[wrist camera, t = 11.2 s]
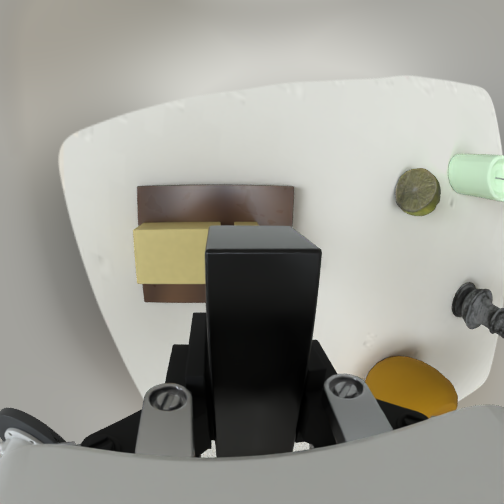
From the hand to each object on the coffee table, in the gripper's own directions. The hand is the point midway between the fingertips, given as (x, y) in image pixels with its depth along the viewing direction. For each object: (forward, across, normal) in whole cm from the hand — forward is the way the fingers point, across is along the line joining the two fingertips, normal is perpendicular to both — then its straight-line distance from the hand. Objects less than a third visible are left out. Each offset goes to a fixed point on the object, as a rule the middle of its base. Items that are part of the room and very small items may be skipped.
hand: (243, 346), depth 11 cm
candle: (+17, -28, -9) cm, 34 cm away
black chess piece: (+17, -33, +8) cm, 38 cm away
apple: (+17, -21, +18) cm, 33 cm away
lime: (+17, -19, -6) cm, 26 cm away
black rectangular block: (+4, 0, 0) cm, 4 cm away
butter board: (+17, +1, 0) cm, 17 cm away
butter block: (+16, +4, 0) cm, 17 cm away
